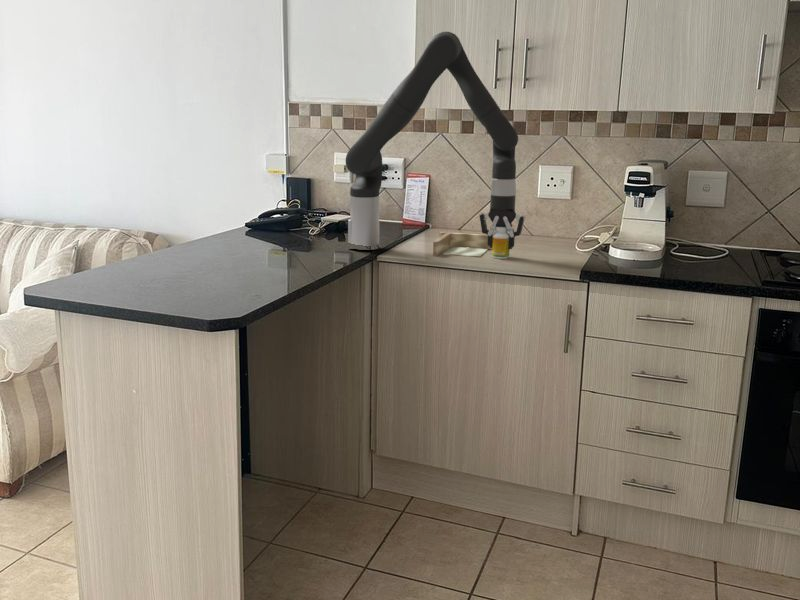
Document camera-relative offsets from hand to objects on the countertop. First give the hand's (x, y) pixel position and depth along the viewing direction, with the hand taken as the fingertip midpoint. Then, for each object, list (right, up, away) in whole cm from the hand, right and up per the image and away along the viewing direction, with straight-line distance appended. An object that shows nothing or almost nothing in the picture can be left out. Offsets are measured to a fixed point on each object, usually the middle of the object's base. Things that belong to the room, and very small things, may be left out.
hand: (500, 247), depth 245 cm
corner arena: (-12, -1, +8) cm, 14 cm away
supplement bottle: (0, -3, +1) cm, 3 cm away
